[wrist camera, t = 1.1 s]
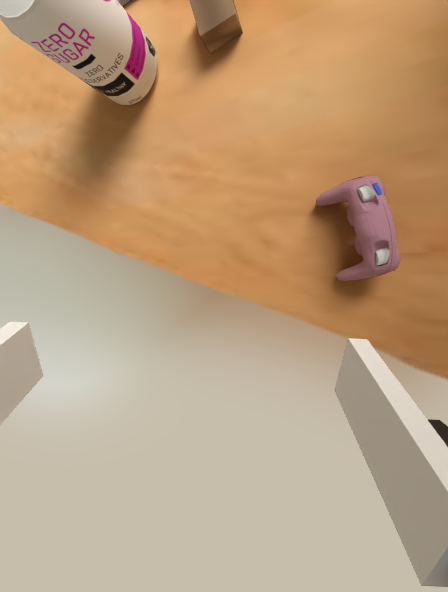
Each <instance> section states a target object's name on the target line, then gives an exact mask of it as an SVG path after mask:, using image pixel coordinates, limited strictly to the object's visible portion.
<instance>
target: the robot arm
mask: <svg viewBox="0 0 448 592" xmlns="http://www.w3.org/2000/svg"><path fill="white" fill-rule="evenodd" d="M42 377H43V373H42V369H41V366H40V362H39V358H38V355H37V351H36V348H35V344H34V341H33V337H32V334H31V330H30V326H29V323H24V322H9V323H8V324H6V325H5V326H4V327H2V328H1V329H0V425H1V424H2V423H3V421H4V420H5V419H6V418H7V417H8V416H9V415H10V413H11V412H12V411H13V410H14V409H15V408H16V406H17V405H18V404H19V403H20V402H21V401H22V399H23V398H24V397H25V396H26V395H27V394H28V393H29V392H30V390H31V389H32V388H33V387H34V386H35V385H36V383H37V382H38V381H39V380H40V379H41V378H42ZM335 392H336V394H337V397H338V399H339V401H340V403H341V406H342V408H343V410H344V412H345V415H346V417H347V419H348V421H349V424H350V426H351V428H352V430H353V433H354V435H355V437H356V439H357V442H358V444H359V446H360V448H361V451H362V453H363V455H364V457H365V460H366V462H367V464H368V466H369V468H370V471H371V473H372V475H373V477H374V480H375V482H376V484H377V487H378V489H379V491H380V493H381V496H382V498H383V500H384V502H385V505H386V507H387V509H388V511H389V514H390V516H391V518H392V520H393V523H394V525H395V527H396V529H397V532H398V534H399V536H400V538H401V541H402V543H403V545H404V547H405V550H406V552H407V554H408V556H409V558H410V561H411V563H412V565H413V568H414V570H415V572H416V574H417V577H418V578H419V581H420V583H421V585H422V586H441V587H448V426H446V425H445V424H444V423H443V422H441V421H440V420H427V419H426V417H425V416H424V415H423V413H422V412H421V411H420V409H419V408H418V407H417V405H416V404H415V403H414V401H413V400H412V399H411V397H410V396H409V395H408V393H407V392H406V391H405V389H404V388H403V387H402V385H401V384H400V383H399V381H398V380H397V379H396V377H395V376H394V375H393V373H392V372H391V371H390V369H389V368H388V367H387V365H386V364H385V363H384V361H383V360H382V359H381V357H380V356H379V355H378V353H377V352H376V351H375V349H374V348H373V347H372V345H371V344H370V343H369V341H368V340H367V339H351V338H348V341H347V345H346V349H345V353H344V356H343V360H342V364H341V368H340V372H339V375H338V380H337V383H336V387H335Z"/></svg>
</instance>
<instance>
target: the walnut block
mask: <svg viewBox="0 0 448 592" xmlns="http://www.w3.org/2000/svg"><path fill="white" fill-rule="evenodd" d="M190 4H191V7H192V11H193V14H194V17H195V21H196V24H197V27H198V31H199V34H200V37H201V39H202V40H203V42H204V44H205V45H206V47H207V49H208V50H209V52H210V53H211V52H213V51H214V50H216V49H217V48H219V47H221V46H222V45H224V44H226V43H227V42H229V41H230V40H232V39H234V38H235V37H237V36H238V35H240V34H242V33H243V32H242V29H241V25H240V22H239V18H238V15H237V11H236V8H235V4H234V1H233V0H190Z"/></svg>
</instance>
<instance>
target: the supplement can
mask: <svg viewBox="0 0 448 592" xmlns="http://www.w3.org/2000/svg"><path fill="white" fill-rule="evenodd" d="M0 18H1V20H2V21H3V23H4V24H5V25H6V26H7V27H8V29H9V30H10V31H11V32H12V33H13V34H14V35H16V36H17V37H19V38H20V39H22V40H23V41H24V42H26V43H27V44H29V45H30V46H32V47H33V48H35V49H36V50H38V51H39V52H41V53H42V54H44V55H45V56H47V57H48V58H50V59H51V60H53V61H54V62H56V63H57V64H59V65H60V66H62V67H63V68H65V69H66V70H68V71H69V72H71V73H72V74H74V75H75V76H77V77H78V78H79V79H81V80H82V81H84V82H85V83H87V84H88V85H90V86H91V87H93V88H94V89H96V90H97V91H99V92H100V93H102V94H103V95H105V96H106V97H108V98H109V99H111V100H112V101H114V102H116V103H118V104H120V105H132V104H134V103H136V102H139V101H140V100H141V99H142V98H143V97H144V96H145V95H146V94H147V93H148V92H149V90H150V88H151V87H152V85H153V83H154V81H155V76H156V71H157V54H156V51H155V48H154V45H153V43H152V41H151V40H150V39H149V37H148V36H147V35H146V34H145V33H144V32H143V30H142V29H141V28H140V27H139V26H138V25H137V23H136V22H135V21H134V20H133V19H132V18H131V16H130V15H129V14H128V13H127V12H126V11H125V9H124V8H123V7H122V6H121V5H120V3H119V2H118V1H117V0H0Z"/></svg>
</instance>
